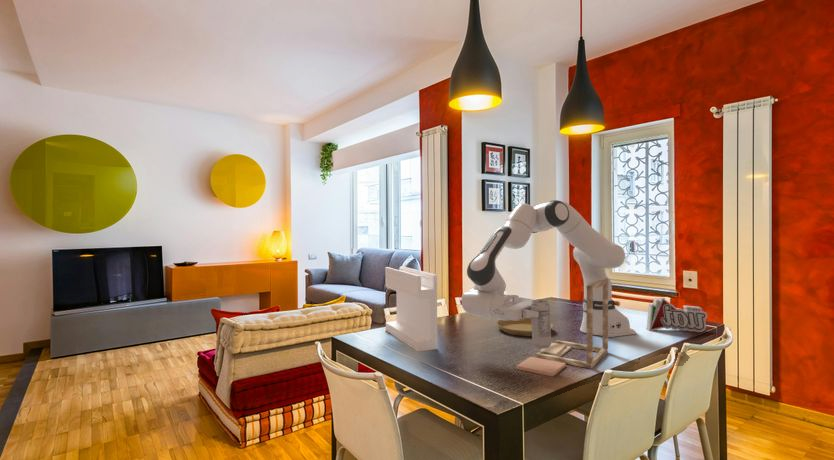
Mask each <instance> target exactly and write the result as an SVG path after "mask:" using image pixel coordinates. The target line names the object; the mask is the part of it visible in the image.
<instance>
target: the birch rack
mask: <svg viewBox="0 0 834 460" xmlns="http://www.w3.org/2000/svg"><path fill="white" fill-rule="evenodd" d="M602 285H603V336H602V346H595V345H593V342H594V340H593V337H594V336H593V290H594V289H596V288H598V287H600V286H602ZM555 343H557V344H564V345H566V346H570V347H571V349H572V348H574V349H579V350H585V351H586V359H585V360H586V361H583V360H579V359H572V358H567V357H564V356H561V357H558V356H552V355H547V354H541V353H539V352H536V353H535V357H536V358H541V359H546V360H551V361H557V362H562V363H566V365H571V366H576V367H580V368H587V369H593V368H594V366H596V365H597V364H598V363H599V362H600V361H601V360H602V359H603V358H604V357H605V356H606V355H607V354H608V352H609V337H608V279H607V278H603V279H601V280H599V281H596V282H594V283H591V284H589V285H587V333H586V344H584V343H579V342H578V343H577V342H571V341H566V340H558V339H557V340H555ZM594 352H597V353H595V354H594V355H593V353H594Z"/></svg>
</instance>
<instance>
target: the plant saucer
mask: <svg viewBox="0 0 834 460" xmlns="http://www.w3.org/2000/svg"><path fill="white" fill-rule="evenodd" d="M550 323H551V330H552V329H553V328H554V324H553V323H552V322H550ZM496 325H497V327H498V329H500V330H501V332H502V331H503V332H504V333H506V334H509V335H514V336H520V337H532V323H531V317H525V318H523V319H520V320H518V321H513V320H509V321H505V320H499V319H498V320H497V322H496Z"/></svg>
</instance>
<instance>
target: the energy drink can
mask: <svg viewBox="0 0 834 460" xmlns="http://www.w3.org/2000/svg"><path fill="white" fill-rule="evenodd" d="M531 311H539V312H540V316H539V317H530V318H531V323H532V336H531V339H532V340H531V342H532V345H533V346H534V347H535V348H537V349H543V348H549V347H550V345H551V343H552V329H551V323H552V322H551V306H550V304H549V303H548V300H547V299H542V298H541V299H540V298H539V299H533V300H532V304H531Z"/></svg>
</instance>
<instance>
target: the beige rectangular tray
mask: <svg viewBox="0 0 834 460" xmlns="http://www.w3.org/2000/svg"><path fill="white" fill-rule="evenodd" d="M571 349H572V347H570V346H566V345H564V344H557V343H556V342H551V345H550V347H549V348H540V350H539V352H538V353H541V354H547V355H552V356H558V357H563V355H565V354H566V353H567V352H568V351H570V350H571Z"/></svg>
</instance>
